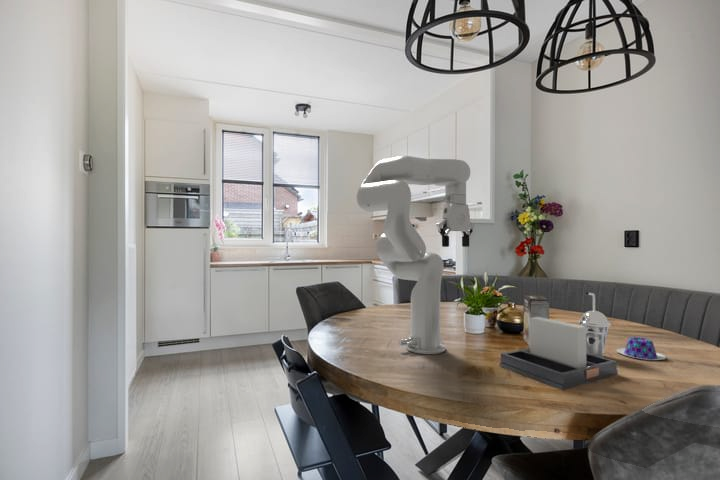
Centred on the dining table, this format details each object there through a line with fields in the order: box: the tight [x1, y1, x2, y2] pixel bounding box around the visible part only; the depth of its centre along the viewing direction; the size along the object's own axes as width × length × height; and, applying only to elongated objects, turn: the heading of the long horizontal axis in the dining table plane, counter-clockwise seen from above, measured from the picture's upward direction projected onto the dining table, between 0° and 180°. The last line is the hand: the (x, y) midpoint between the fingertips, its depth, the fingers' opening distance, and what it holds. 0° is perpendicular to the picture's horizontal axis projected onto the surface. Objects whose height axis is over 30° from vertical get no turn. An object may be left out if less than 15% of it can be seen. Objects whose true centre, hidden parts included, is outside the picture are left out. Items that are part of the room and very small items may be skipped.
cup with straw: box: [578, 291, 612, 358], centre depth 111 cm, size 8×9×20 cm
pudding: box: [616, 336, 667, 361], centre depth 112 cm, size 12×12×5 cm
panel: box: [529, 317, 586, 368], centre depth 99 cm, size 4×14×12 cm, turn 27°
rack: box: [499, 347, 619, 391], centre depth 98 cm, size 23×19×4 cm
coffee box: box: [523, 295, 550, 347], centre depth 124 cm, size 9×6×16 cm
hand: (455, 246), depth 134 cm, fingers open, 9 cm apart
